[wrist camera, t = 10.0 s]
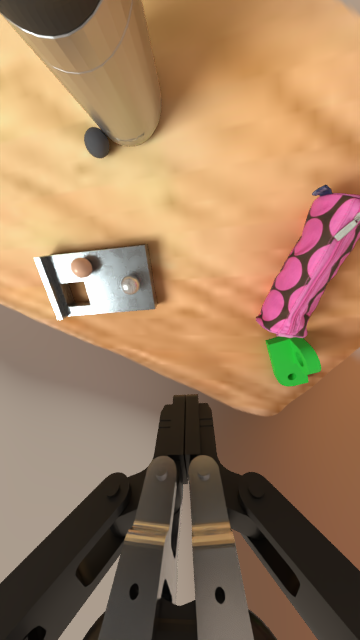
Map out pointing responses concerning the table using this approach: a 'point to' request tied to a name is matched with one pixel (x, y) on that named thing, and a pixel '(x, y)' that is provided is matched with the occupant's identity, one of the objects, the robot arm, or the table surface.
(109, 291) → the grey ball holder tray
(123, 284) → the steel ball
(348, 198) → the pencil case
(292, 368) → the mechanical part
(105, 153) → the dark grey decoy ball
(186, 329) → the table surface
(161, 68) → the table surface
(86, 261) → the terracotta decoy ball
